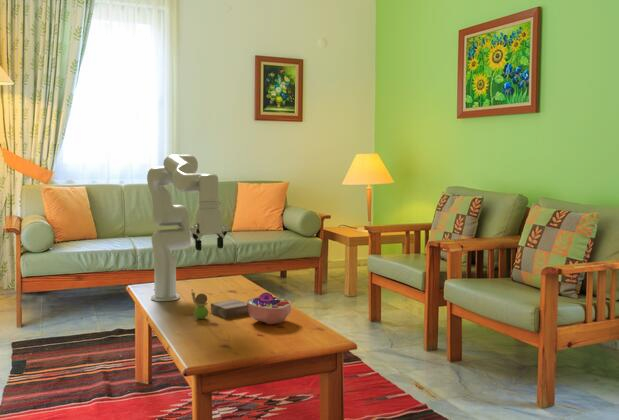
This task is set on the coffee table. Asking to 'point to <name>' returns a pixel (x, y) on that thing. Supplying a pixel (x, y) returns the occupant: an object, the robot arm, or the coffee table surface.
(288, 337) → the coffee table surface
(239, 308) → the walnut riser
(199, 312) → the snail figurine
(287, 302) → the cell model
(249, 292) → the coffee table surface
